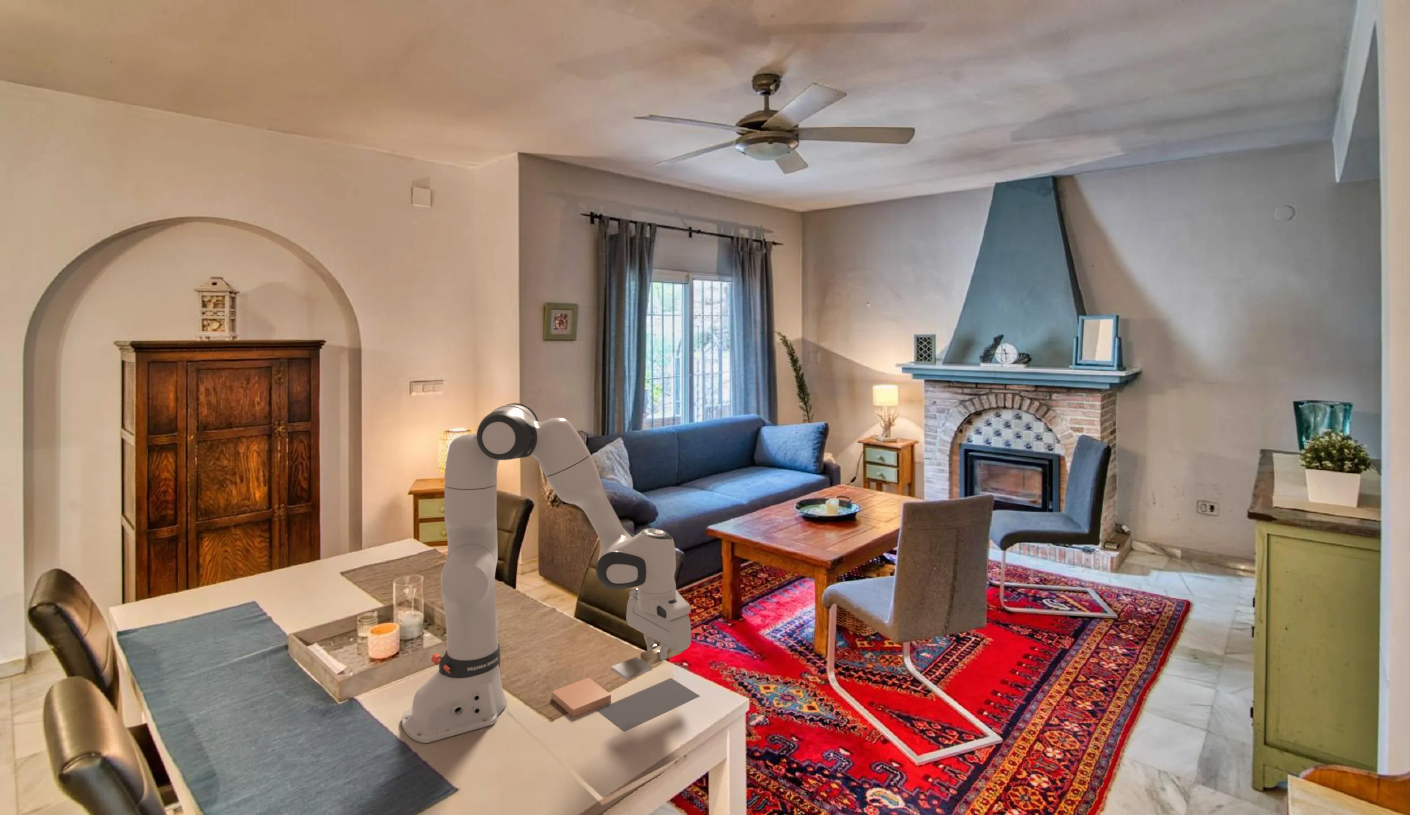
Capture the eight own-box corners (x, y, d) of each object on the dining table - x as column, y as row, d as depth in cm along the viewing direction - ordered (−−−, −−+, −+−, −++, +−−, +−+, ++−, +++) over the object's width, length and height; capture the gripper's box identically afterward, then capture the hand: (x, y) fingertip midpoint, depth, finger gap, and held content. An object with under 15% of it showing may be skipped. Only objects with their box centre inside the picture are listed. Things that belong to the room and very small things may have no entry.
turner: (626, 680, 149) (626, 669, 149) (611, 669, 154) (611, 659, 153) (688, 654, 161) (688, 645, 161) (672, 645, 166) (672, 636, 165)
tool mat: (624, 734, 147) (624, 731, 147) (596, 712, 155) (596, 709, 155) (700, 698, 162) (700, 695, 162) (670, 680, 170) (670, 677, 170)
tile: (610, 705, 159) (573, 720, 153) (588, 687, 167) (551, 702, 160) (610, 694, 159) (573, 709, 152) (588, 677, 166) (551, 691, 160)
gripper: (619, 589, 163) (620, 643, 164) (673, 616, 147) (673, 676, 149) (640, 582, 167) (641, 636, 168) (695, 608, 152) (695, 666, 153)
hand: (657, 655), depth 159 cm, fingers closed on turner, 2 cm apart
